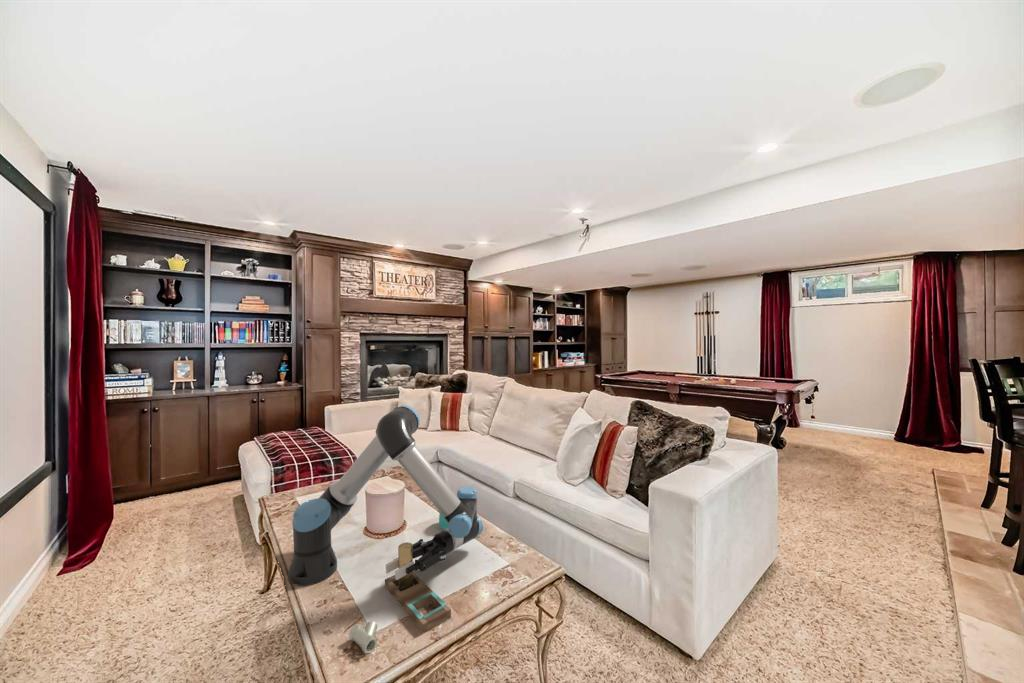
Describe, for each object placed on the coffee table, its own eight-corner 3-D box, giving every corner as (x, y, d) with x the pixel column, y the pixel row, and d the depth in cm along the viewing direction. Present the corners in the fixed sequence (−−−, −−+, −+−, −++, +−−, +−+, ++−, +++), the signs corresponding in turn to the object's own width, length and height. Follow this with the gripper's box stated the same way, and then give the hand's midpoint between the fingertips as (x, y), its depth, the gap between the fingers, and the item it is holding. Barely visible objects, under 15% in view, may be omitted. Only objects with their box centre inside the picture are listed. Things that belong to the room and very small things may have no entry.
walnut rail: (384, 586, 130) (384, 578, 130) (410, 575, 136) (410, 567, 136) (423, 633, 111) (423, 623, 111) (450, 617, 117) (450, 608, 116)
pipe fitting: (371, 628, 113) (348, 641, 108) (372, 615, 113) (349, 627, 108) (387, 643, 108) (364, 657, 103) (388, 628, 108) (365, 641, 103)
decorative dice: (458, 530, 166) (458, 512, 165) (439, 530, 166) (438, 511, 166) (461, 521, 174) (460, 503, 173) (442, 521, 174) (442, 503, 174)
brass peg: (396, 587, 129) (396, 545, 128) (408, 582, 132) (408, 540, 131) (402, 594, 126) (402, 551, 125) (415, 588, 129) (414, 546, 128)
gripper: (464, 560, 137) (408, 595, 119) (431, 542, 148) (375, 572, 130) (464, 538, 137) (408, 571, 119) (431, 522, 148) (375, 550, 130)
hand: (391, 572), depth 124 cm, fingers closed on brass peg, 4 cm apart
